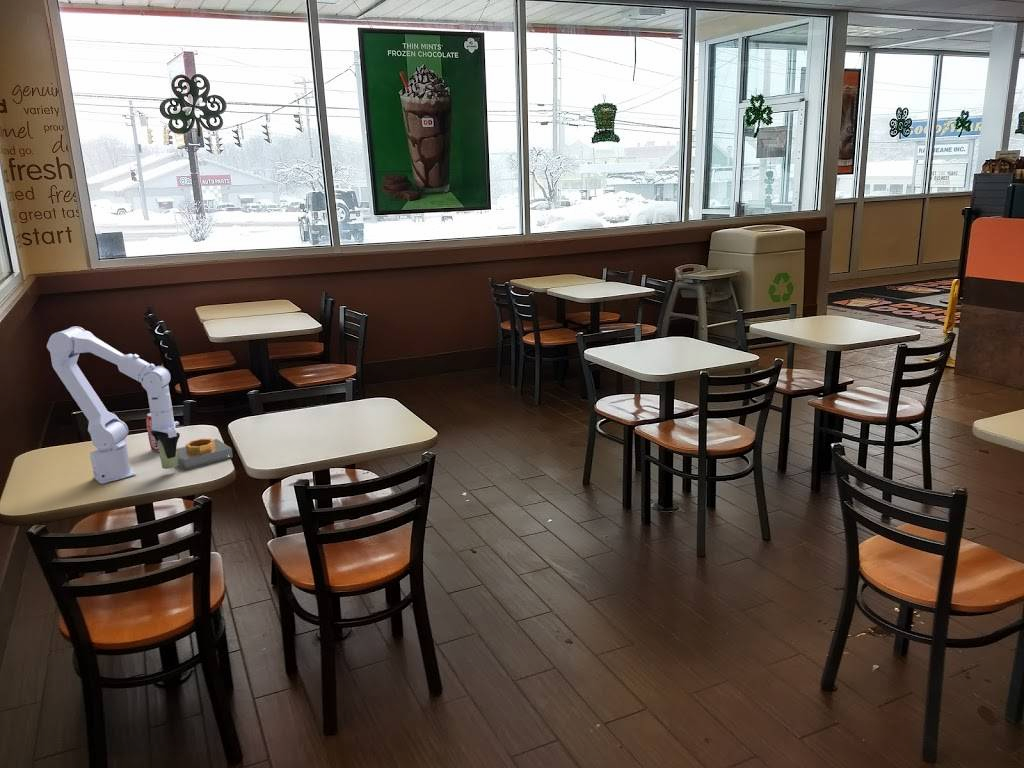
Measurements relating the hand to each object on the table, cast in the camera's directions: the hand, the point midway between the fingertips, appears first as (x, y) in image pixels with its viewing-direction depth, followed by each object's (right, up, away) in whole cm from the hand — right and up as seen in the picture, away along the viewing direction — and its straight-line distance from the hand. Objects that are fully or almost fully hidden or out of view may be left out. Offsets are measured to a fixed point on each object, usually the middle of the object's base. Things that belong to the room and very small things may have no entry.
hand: (168, 455), depth 224 cm
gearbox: (+4, -2, +14) cm, 14 cm away
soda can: (-12, 0, +22) cm, 25 cm away
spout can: (0, -3, +1) cm, 3 cm away
